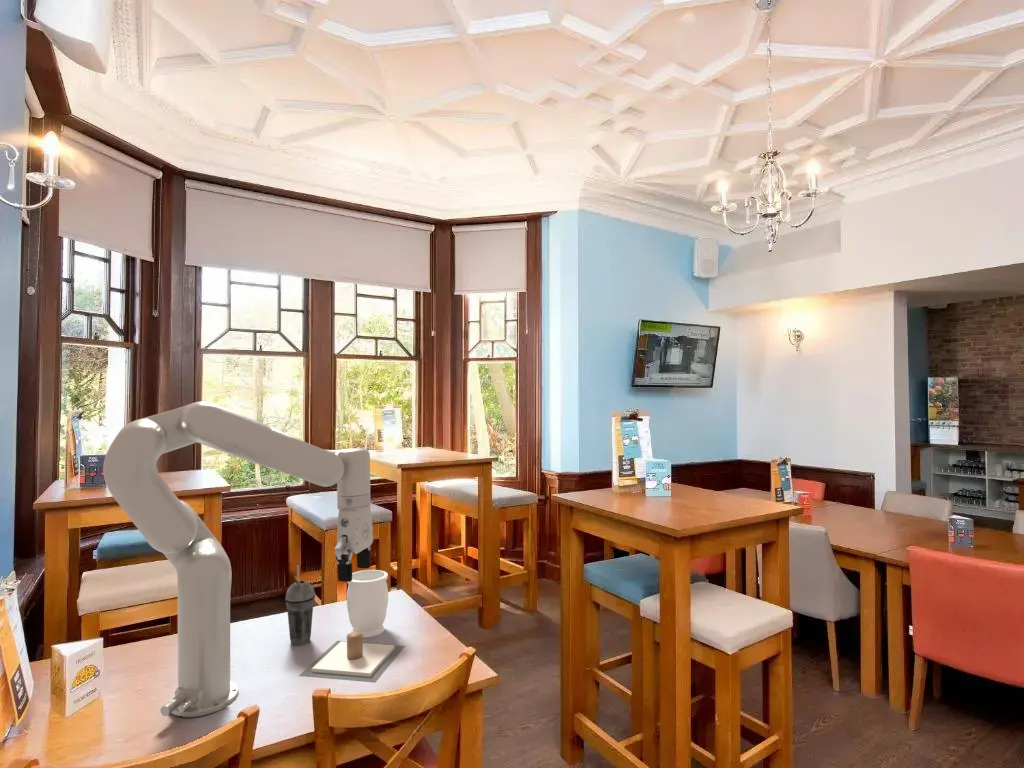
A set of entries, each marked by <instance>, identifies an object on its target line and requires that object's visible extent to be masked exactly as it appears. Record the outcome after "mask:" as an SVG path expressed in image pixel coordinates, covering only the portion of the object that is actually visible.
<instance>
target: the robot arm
mask: <svg viewBox="0 0 1024 768" xmlns="http://www.w3.org/2000/svg"><path fill="white" fill-rule="evenodd" d="M195 443H197V444H200V445H203V446H205V447H209V448H212V449H214V450H217V451H220V452H223V453H225V454H229V455H232V456H233V457H236V458H239V459H241V460H245V461H247V462H250V463H253V464H255V465H258V466H261V467H264V468H269V469H272V470H276V471H279V472H281V473H285V474H287V475H290V476H292V477H294V478H295V477H296V478H297V479H301V480H304V481H306V482H309V483H311V484H314V485H317V486H320V487H325V488H327V487H332V486H334V485H337V486H336V490H337V491H336V494H337V495H336V496H337V497H336V498H337V499H336V502H337V505H336V507H337V510H338V514H337V515H338V516H337V517H338V518H337V528H336V529H337V530H336V533H337V534H336V545H335V547H334V554H335V559H336V564H337V580H338V581H339V582H345V583H346V582H347V583H348V582H351V581H352V573H353V563H351V561H352V558H353V554H356V568H358V569H370V567H371V550H372V546H371V545H372V544H373V543H374V530H373V517H372V516H373V515H372V510H371V456H370V455H371V454H370V451H369V450H367V448H366V449H365V448H361V447H360V448H359V447H357V448H356V447H354V448H344V449H338V450H337V449H323V448H321V447H319V446H316V445H313V444H311V443H309V442H306V441H303V440H301V439H298V438H296V437H293V436H291V435H290V434H287V433H285V432H283V431H282V430H279V429H277V428H276V427H273V426H271V425H269V424H267V423H263V422H261V421H259V420H257V419H253V418H251V417H248V416H246V415H243V414H241V413H238V412H236V411H233V410H231V409H228V408H226V407H223V406H220V405H218V404H216V403H213V402H209V401H196V402H192V403H189V404H186V405H184V406H180V407H176V408H173V409H170V410H168V411H167V410H166V411H163V412H160V413H157V414H152V415H150V416H146V417H142V418H139V419H136V420H133V421H130V422H129V423H126V424H125V425H124V426H123V427H122V428H121V429H120V430H119V432H118V433H117V434H116V435H115V438H114V439H113V441H112V442H111V444H110V445H109V447H108V450H107V452H106V454H105V457H104V460H103V466H102V470H103V478H104V482H105V484H106V485H105V486H106V488H107V490H108V491H109V493H110V494H111V496H112V497H113V498H114V500H115V502H116V503H117V504H118V505H119V506H120V507H121V509H122V510H123V512H124V513H125V514H126V516H127V517H128V518H129V520H130V521H131V522H132V523H133V524H134V526H135V527H136V529H137V530H138V531H139V532H140V533H141V535H142V536H143V537H144V539H145V540H146V543H147V544H148V545H149V546H150V547H151V548H153V549H154V550H155V551H157V552H160V553H162V554H163V555H164V557H165V558H166V559H167V560H168V561H169V562H170V563H171V565H172V566H173V567H174V568H175V570H176V575H177V577H176V578H177V688H176V689H174V695H173V696H172V698H171V699H170V700H169V702H167V703H166V704H164V705H163V706H161V708H160V714H161V715H162V716H164V717H168V716H169V715H170V714H171V715H173V716H176V715H177V716H176V717H179V716H182V717H181V718H195V717H203V716H207V715H210V714H213V713H215V712H218V711H221V710H222V709H224V708H226V707H228V706H230V705H231V703H233V701H234V700H236V698H237V697H238V696H239V690H240V689H239V686H238V684H237V683H235V682H234V681H231V589H232V575H233V574H232V566H231V560H230V558H229V556H228V555H227V552H226V551H225V549H224V547H223V546H222V544H221V543H220V542H219V540H218V539H217V537H215V535H214V534H213V533H212V531H211V530H210V529H209V527H208V526H207V525H206V524H205V522H204V521H203V520H202V519H201V517H200V516H199V514H197V512H196V511H195V510H194V509H193V507H192V506H191V505H189V504H188V503H187V502H185V501H184V500H180V499H179V497H177V495H176V494H175V492H173V490H172V489H171V488H170V485H168V483H167V482H166V481H165V479H164V478H163V477H162V475H161V474H160V472H159V470H158V466H157V465H158V464H157V463H158V460H159V458H161V456H162V455H163V454H166V453H169V452H173V451H175V450H178V449H181V448H182V449H183V448H184V447H187V446H191V445H193V444H195ZM346 555H347V556H346Z"/></svg>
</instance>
